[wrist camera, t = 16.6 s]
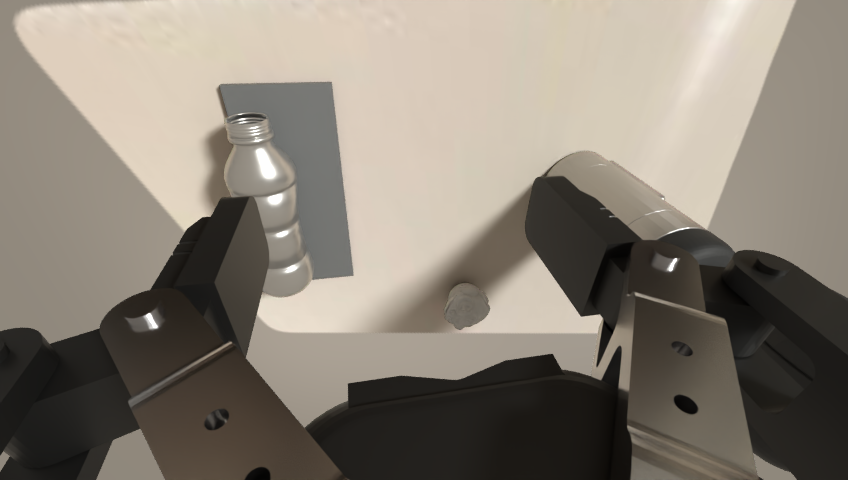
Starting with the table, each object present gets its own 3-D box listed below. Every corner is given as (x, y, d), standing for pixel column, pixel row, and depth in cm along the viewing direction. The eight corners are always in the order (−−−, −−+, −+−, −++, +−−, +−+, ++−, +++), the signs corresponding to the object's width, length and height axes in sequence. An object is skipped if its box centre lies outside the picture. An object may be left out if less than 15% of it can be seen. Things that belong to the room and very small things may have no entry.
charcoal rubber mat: (331, 82, 36) (331, 83, 36) (353, 272, 50) (353, 275, 50) (221, 84, 35) (219, 85, 34) (274, 280, 49) (274, 283, 48)
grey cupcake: (444, 269, 53) (456, 304, 47) (488, 275, 55) (505, 310, 49) (430, 300, 56) (440, 337, 50) (472, 305, 58) (486, 341, 52)
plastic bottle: (261, 271, 47) (212, 109, 35) (317, 265, 48) (288, 106, 37) (254, 308, 42) (195, 133, 30) (317, 300, 43) (283, 129, 31)
